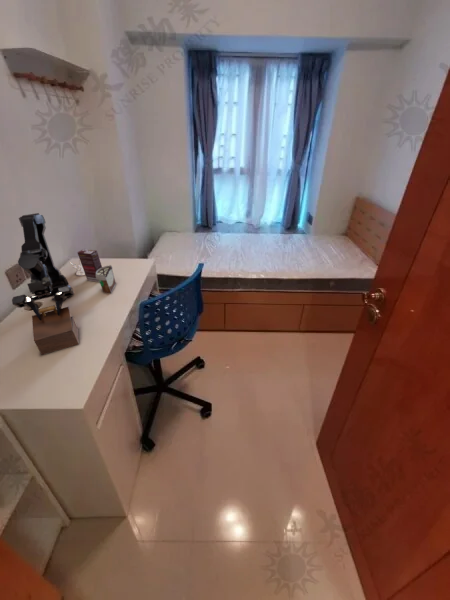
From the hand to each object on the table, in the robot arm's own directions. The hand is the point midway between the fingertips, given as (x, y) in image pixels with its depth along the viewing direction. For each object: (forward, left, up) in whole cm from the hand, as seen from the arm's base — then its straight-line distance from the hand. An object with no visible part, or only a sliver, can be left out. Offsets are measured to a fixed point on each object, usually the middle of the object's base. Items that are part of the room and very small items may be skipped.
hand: (50, 317), depth 101 cm
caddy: (0, 0, -11) cm, 11 cm away
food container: (-11, +37, -11) cm, 40 cm away
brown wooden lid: (0, 0, -3) cm, 3 cm away
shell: (-37, +47, -11) cm, 61 cm away
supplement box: (-24, +43, -11) cm, 50 cm away
